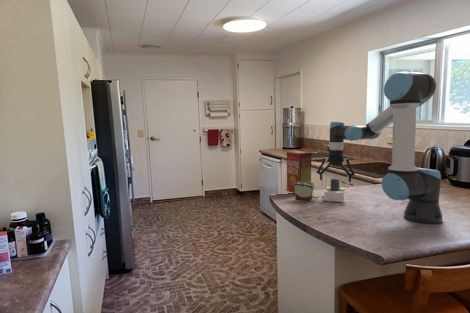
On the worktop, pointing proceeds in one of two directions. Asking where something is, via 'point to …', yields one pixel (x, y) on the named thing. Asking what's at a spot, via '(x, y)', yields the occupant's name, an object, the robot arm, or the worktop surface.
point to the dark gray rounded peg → (335, 184)
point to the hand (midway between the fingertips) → (334, 186)
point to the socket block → (334, 195)
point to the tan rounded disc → (315, 196)
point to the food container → (303, 191)
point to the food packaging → (298, 168)
